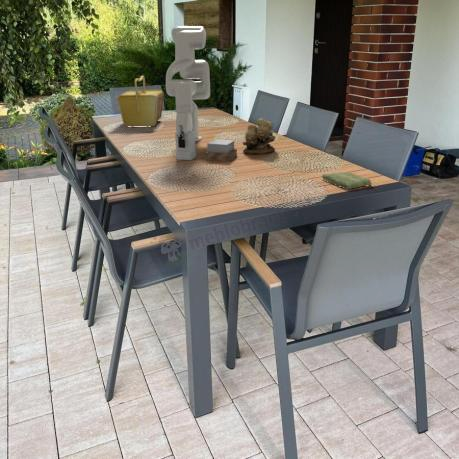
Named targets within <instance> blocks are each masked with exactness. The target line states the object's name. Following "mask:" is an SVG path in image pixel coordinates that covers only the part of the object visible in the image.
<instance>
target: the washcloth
mask: <svg viewBox="0 0 459 459" xmlns="http://www.w3.org/2000/svg"><path fill="white" fill-rule="evenodd" d="M321 178H322V179H323V180H326V181H328V182H331V183H333V184H336V185H338V186H341V187H344V188H346V189H350V190H353V189H352V188H356V189H358V188H357V187H360V188H362V187H361V186H366V185H371V186H372V180H371V179H370V178H368V177H363V176H361V175H358V174H354V173H352V172H349V171H342V172H341V171H339V172H331V173H329V174H328V173H324V174H322V175H321ZM323 180H322V181H323ZM326 181H325V182H326ZM328 182H327V183H328ZM331 183H330V184H331ZM333 184H332V185H333ZM336 185H335V186H336ZM338 186H337V187H338ZM341 187H340V188H341ZM346 189H345V190H346Z"/></svg>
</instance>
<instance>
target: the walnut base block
mask: <svg viewBox="0 0 459 459" xmlns="http://www.w3.org/2000/svg"><path fill="white" fill-rule="evenodd" d="M237 155H238V149H237V148H236V147H234V149H233V150H231V151H230V152H228V153H217V152H208V150H206V151H205V157H204V158H205V161H219V162H230V161H232V160H233V159H234V158H236V157H237Z"/></svg>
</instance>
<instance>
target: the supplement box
mask: <svg viewBox="0 0 459 459" xmlns="http://www.w3.org/2000/svg"><path fill="white" fill-rule="evenodd" d="M175 133H176V132H175ZM182 136H183V135H182ZM184 139H185V148H179V147H178V137H177V133H176V134H175V147H176V148H175V149H176V160H179V161H180V160H183V161H192V160H194V159H195V158H196V157H197V150H196V141H195V131H191V132H189V133H188V134H186V135H185V137H184Z"/></svg>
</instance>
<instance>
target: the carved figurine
mask: <svg viewBox="0 0 459 459" xmlns="http://www.w3.org/2000/svg"><path fill="white" fill-rule="evenodd" d="M256 123H257V126H256V125H255V124H252V123H251V124H249V125H248V126H247V130H246V131H245V135H244V138H245V139H244V140H245V141H243V142H242V145H243V146H246V147H245V148H244V149H243V151H242V153H243V154H245V155H248V156H251V155H252V156H260V155H268V154H272V153H275V151H276V148H274V146H273V145H271V144H270V143H273V142H275V140H276V135H274V130H273V127H274V126H273V122H272V121H269V120H266V119H265V118H262V117H259V118H258V119H257V121H256Z"/></svg>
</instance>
